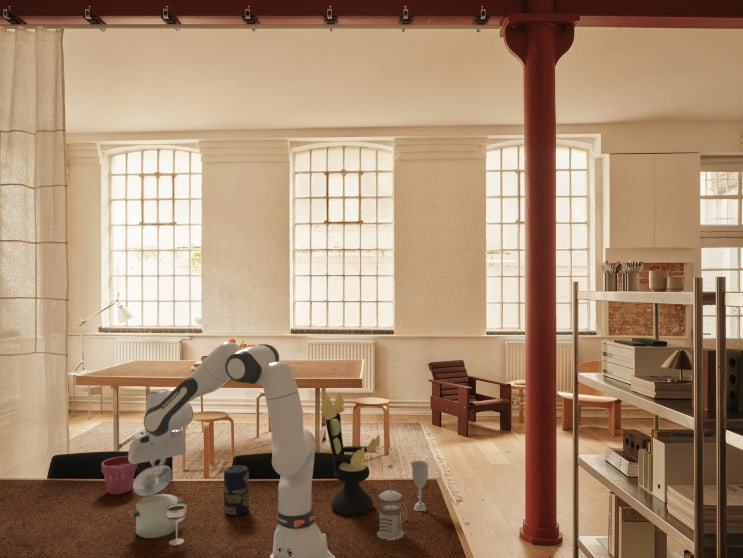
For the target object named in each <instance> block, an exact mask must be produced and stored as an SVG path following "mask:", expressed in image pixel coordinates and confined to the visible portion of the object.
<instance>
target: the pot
mask: <svg viewBox="0 0 743 558" xmlns="http://www.w3.org/2000/svg"><path fill="white" fill-rule="evenodd" d="M176 503H183V504H184V500H183V499H182V498H181V497H177V496H176V495H174V494H173V495H172V494H169V493H167V494H166V493H162V494H161V493H160V494H153V495H149V496H145V497H143V498H141V499H139V500H138V501H137V502H136V504H135V506H136V508H134V509H131V510H129V515H130V516H131V517H132V518H135V519H136V521H135V523H136V524H135V525H136V526H135V528H136V535H137V536H138V535H139V536H138V537H140V536H141V537H140V538H143V537H144V539H154V538H157V539H158V538H162V537H165V536H168V535H171V534H173V533H174V532H176V528H175V524H174V523H173V522H170V521H169V520H168V519H167V517H166V512H167V509H166V508H167V507H168V506H169V505H172V504H176Z"/></svg>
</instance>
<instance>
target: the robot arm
mask: <svg viewBox="0 0 743 558" xmlns="http://www.w3.org/2000/svg"><path fill="white" fill-rule="evenodd" d="M229 380H231V381H233V382H236V383H241V384H249V385H255V384H257V383H259V384H260V385H261V386H262V388H263V393H264V399H265V403H266V407H267V411H268V415H269V421H270V430H271V431H270V432H271V448H272V451H271V452H272V457H271V467H272V469H273V470H274V471H275V472H276V473H277V474H278V475H279V476H280V478H279V481H278V482H279V483H278V485H277V486H278V488H277V492H278V493H277V494H278V495H277V502H278V503H277V505H278V506H277V510H276V522H277V525H276V528H275V530H274V533H273V545H272V553H271V554H270V555H269V558H336V556H335V555H334V554H333V553H331V551H330V550H329V548H328V542H327V534H326V533H323V532H322V531H321V530H320V527H319V526H318V524H317V523H316V520H317V518H316V517H317V515H315V511H314V508H313V507H312V497H313V496H312V494H313V493H312V488H313V486H312V483H313V474H314V465H315V454H316V452H315V451H316V439H315V436H314V434H313V432H311V431H310V430H308V429H305V428H304V410H303V405H302V402H301V398H300V393H299V388H298V386H297V385H298V384H297V382H296V379H295V376H294V372H293V370H292V369H291V366H290V365H289V364H288V363H287V362H285V361H280V354H279V352H278V350H277V348H275V346H273V345H270V344H268V343H266V344H265V343H264V344H263V343H261V344H257V345H252V346H247V347H245V348H241V346H240V345H238V344H237V343H235V342H232V341H225V342H222V343H221V344H220V345H218V346H217V347H215V348H214V349H213V350H212V351H211V352H210V353H209V354H208V355H207V356H206V357H205V358H204V360H203V361H202V362H201V363H200V364H199V365H198V366H197V367H196V368H195V369H194V370H193V372H191V373H190V375H188V376H187V377H186V378H185V379H184V380H183V381H182V382H181V383H179V384H178V385H177V386H176V387H175V388H174V389H173V390H172V391H171V390H169V389H159V390H154V391H151V392H150V393H148V395H147V399H146V403H145V404H146V405H145V414H144V417H143V426H144V428H143V429H142V430H140V431H138V432H135V433H134V434H132V435H131V440H132V442H131V443H130V444H129V448H128V453H127V456H128V460H129V462H130V463H132V464H137V465H138V464H141V463H147V462H149V464H151V466H154V465H156V464H155V463H156V461H157V460H160V461H159V464H158V465H165V462H166V461H167V460H166V459H168V458H172V457H177V456H178V457H179V456H184V454H185V453H186V449H187V448H186V441H185V440H186V437H187V436H186V432H185V431H184V430H182V429H181V428H184V427H186V426H188V425H189V424H191V423H192V420H193V418H194V410H193V407H192V405H191V404H190V403H189V402H191V401H192V400H194V399H197V398H199V397H201V396H202V397H203V396H205V395H208V394H211V393H213V392H215V391H218V390H219V389H220V388H221V387H223V386H224V385H226V383H228V381H229Z"/></svg>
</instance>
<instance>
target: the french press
mask: <svg viewBox="0 0 743 558" xmlns="http://www.w3.org/2000/svg"><path fill="white" fill-rule="evenodd" d="M393 467H394V466H393V464H392V463H389V464H387V468H388V469H393ZM378 497H379V499H380V500H382V501H386V502H387V503H382V504H381V505H380V509H379V511H378V512H379V515H378V516H379V521H378V522H379V524H378V525H379V530H378V531H377V532H376V536H377V535H378V536H377V537H378V538H379V537H380V538H379V539H381V538H383V539H388V540H387V541H391V540H393V541H396V540H395V539H398V540H400V539H399V538H401V537H402V536H403V535H404V536H405V533H404V531H403V530H402V523H404V522H406V520H407V519H408V518H407V517H408V511H407V507H406V505H405V504H404V502H402V501H400V500H401V498H402V494H401V493H400V492H398V491H395V490H394V489H393V490H392V488H391V481H389V490H384V491H382V492H381V493H379V495H378ZM396 501H400V502H398V503H393V502H396ZM401 504H402V505H403V506H404V508H403V507H402V505H401ZM404 511H406V513H405V512H404ZM391 513H392V514H391ZM402 513H403V514H402ZM405 514H406V515H405ZM402 516H403V518H402ZM405 516H406V517H405ZM404 536H403V537H404ZM403 537H402V538H403ZM402 538H401V539H402ZM383 539H382V540H383Z"/></svg>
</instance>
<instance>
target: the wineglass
mask: <svg viewBox="0 0 743 558" xmlns="http://www.w3.org/2000/svg"><path fill="white" fill-rule="evenodd" d="M166 509H167V512H166V517H167V519H168V520H169V521H170V522H173V523H174V524H175V528H176V530H175V538H173V539H171V540H170V541H169V542H168V543H169V545H171V546H178V545H181V544H183V543H184V542H185V539H183V538H179V537H178V530H179V529H178V527H179V526H178V525H179V523H180V522H182V521H183V520H184V519H185V518H186V516H187V512H188V511H187V504H185V503H184V502H183V503H176V504H172V505H169V506H168V507H167V508H166Z"/></svg>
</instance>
